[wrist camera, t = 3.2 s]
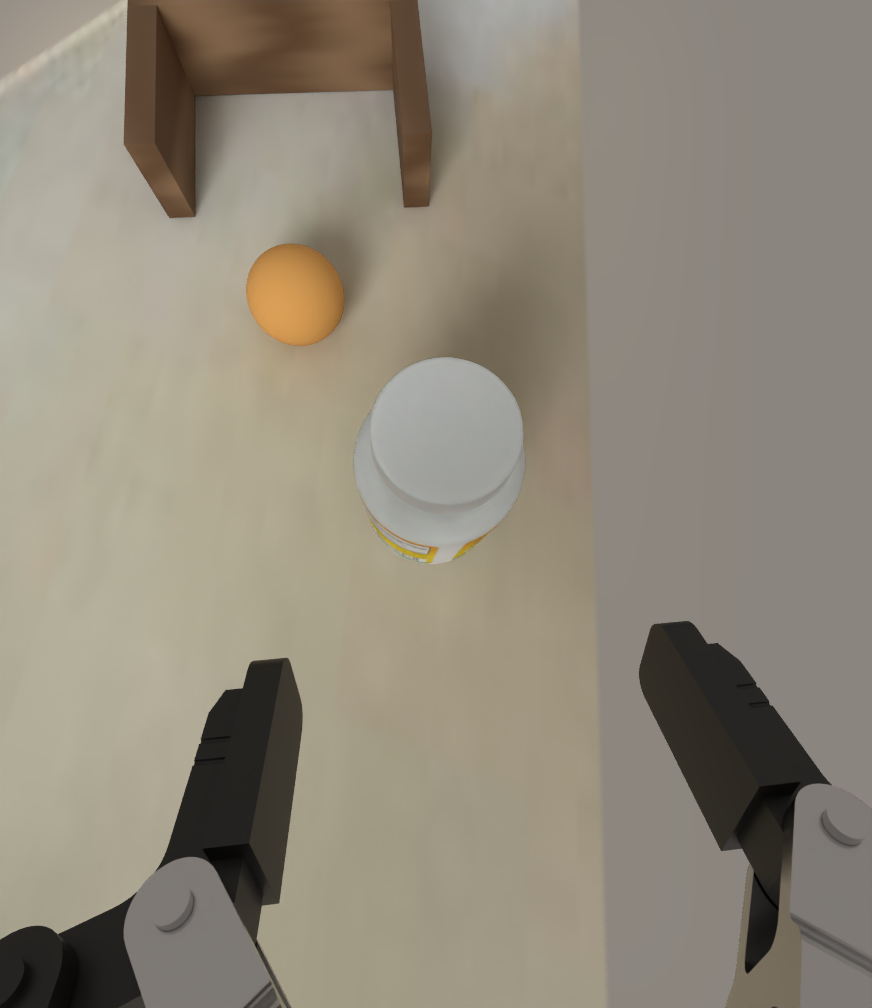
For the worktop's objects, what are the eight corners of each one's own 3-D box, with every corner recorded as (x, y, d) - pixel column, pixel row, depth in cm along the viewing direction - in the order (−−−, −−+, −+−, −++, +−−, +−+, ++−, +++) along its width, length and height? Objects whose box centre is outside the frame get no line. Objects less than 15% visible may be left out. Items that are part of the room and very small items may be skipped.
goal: (169, 217, 25) (123, 144, 21) (170, 77, 26) (128, -17, 22) (428, 206, 25) (431, 133, 22) (414, 69, 27) (414, -22, 23)
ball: (255, 357, 24) (224, 307, 20) (268, 278, 24) (241, 215, 20) (344, 366, 24) (330, 318, 20) (354, 287, 24) (343, 226, 21)
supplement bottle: (376, 573, 22) (350, 546, 12) (362, 452, 23) (328, 343, 13) (501, 555, 22) (567, 516, 13) (482, 437, 23) (530, 321, 14)
